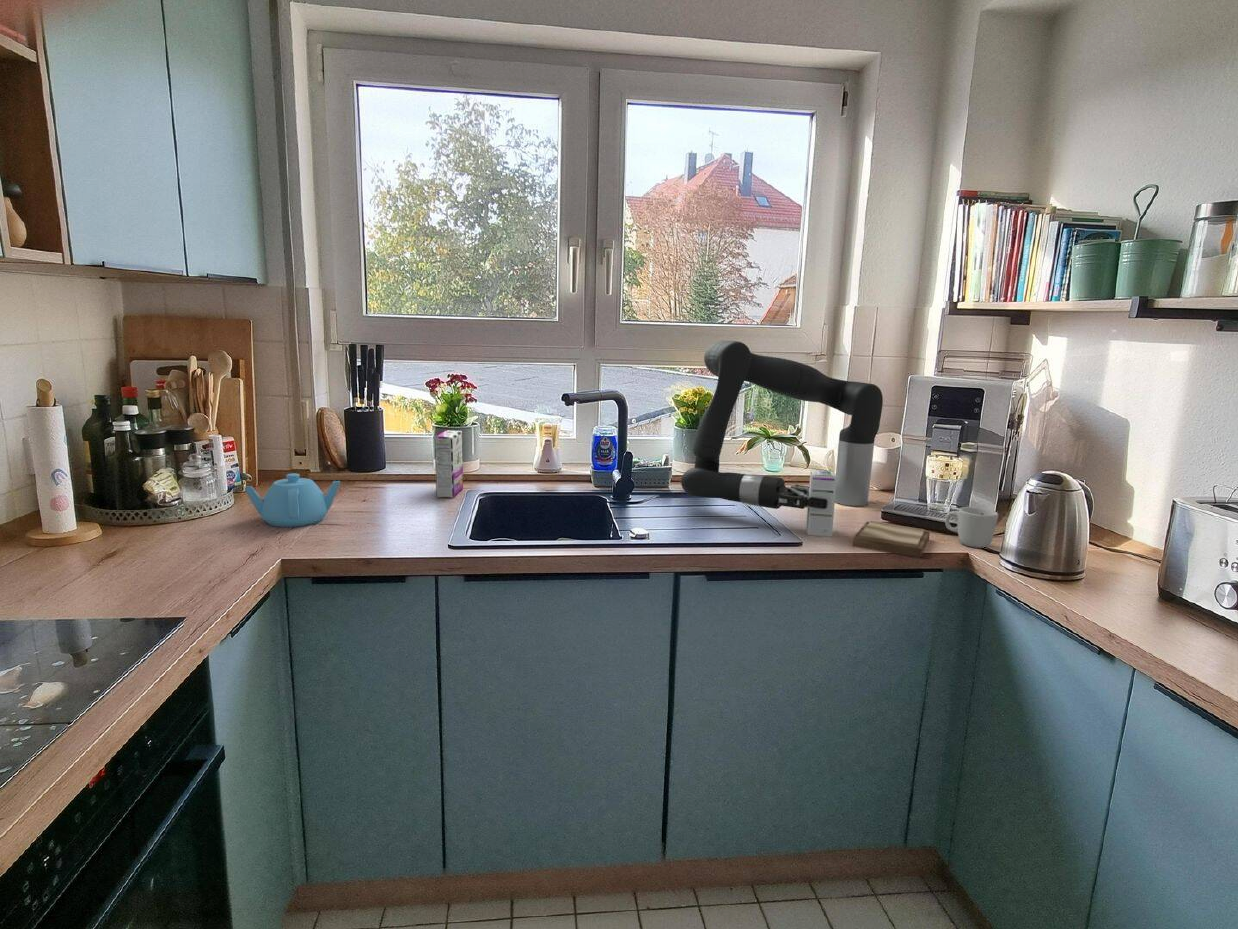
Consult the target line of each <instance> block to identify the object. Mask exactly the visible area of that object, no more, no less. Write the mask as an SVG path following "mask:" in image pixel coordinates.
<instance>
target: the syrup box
mask: <svg viewBox="0 0 1238 929" xmlns="http://www.w3.org/2000/svg"><path fill="white" fill-rule="evenodd" d="M836 478H837V477H836V471H831V470H825V469H821V470H820V469H815V470H814V469H812V470H810V474H809V486H808V487H809V496H810V499H811V497H815V498H822V499H827V500H828V503H827V508H826V509H821V508H814V507H810V506H809V508H807V512H806V513H807V514H806V524H805V525H806V526H805V529H806V534H807V535H809V536H814V537H815V536H816V537H828V538H829V537H830V538H832V536H833V529H834V527H833V526H834V518H835V515H834V514H835V505H836V504H835V503H836V502H835V491H836Z"/></svg>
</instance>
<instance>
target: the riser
mask: <svg viewBox="0 0 1238 929" xmlns="http://www.w3.org/2000/svg"><path fill="white" fill-rule="evenodd" d="M930 532H931V531H929V530H926V529H924V528H918V527H911V526H904V525H900V524H899V525H898V524H892V523H886V522H878V521H872V520H870V521H866V522H865V523H864V524H863V525H862V527H861V528H860V529H859V530H858V532H857V533H856V534H855V535H854V536H853V538H852V547H856V548H862V549H866V550H867V549H868V550H872V551H878V552H885V553H889V554H890V553H891V554H896V555H902V556H906V557H907V556H908V557H914V558H919V559H921V557H922V555H923V553H924V551H925V549H924V548H926V547H927V545H928V542H929V539H930V534H931V533H930ZM926 544H927V545H926ZM925 546H926V547H925Z"/></svg>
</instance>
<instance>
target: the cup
mask: <svg viewBox="0 0 1238 929" xmlns="http://www.w3.org/2000/svg"><path fill="white" fill-rule="evenodd" d="M952 516H953V517H956V520H957V524H956V526H952V525H951V522H950V520H951V519H950V518H951V517H952ZM998 519H999V513H998V512H997V511H995V510H991V509H989V508H984V507H977V506H963V507H960V508H959V510H952V511H950V512H947V513H946V516H945V518H944V521H945V522H944V523H945V527H946V528H947V529H948V530H949V531H951V532H952V533H953V532H954V533H957V534H958V540H959V542H960V543H961V544H962V545H964V546H966V547H970V548H978V549H985V548H984V547H986V548H988V547H989V546H991V545H992V542H993V539H994V533H995V531H996V526H997V523H998Z"/></svg>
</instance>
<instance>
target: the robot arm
mask: <svg viewBox="0 0 1238 929" xmlns="http://www.w3.org/2000/svg"><path fill="white" fill-rule="evenodd" d="M703 360H704V361H703V362H704V365H705V366H706V369H707V370H708V372H710V373H711V374H712V375H714V376H715V377H717V378H718V379H717V383H716V384H717V385H716V388H715V391H714V394H713V396H712V399H711V401H710V403H709V405H708V406H707V408H706V409H705V411H704V412H703V415H702V417H701V420H700V421H699V424H698V425H697V426H698V427H697V431H696V435H695V438H694V442H693V446H692V452H693V453H692V454H693V455H694V456H695V460H694V462H695V463H694V467H692V468H690V469H687V470H686V471H685V472H683V474H682V476H681V478H680V484H681V488H682V490H683V491H684V492H685V493H686V494H688V495H690V496H693V497H700V498H711V499H721V500H727V501H729V502H735V503H742V504H746V505H749V506H755V507H763V508H768V509H774V510H778V509H780V508H781V507H787V508H795V509H801V510H804V509H805V508H806V509H808V508H809V506H810V507H814V508H821V509H826V508H827V503H828V500H827V499H822V498H815V497H811V499H810V496H809V486H806V485H800V484H794V485H791V486H790V487H786V485H785V483H786V482H785V480H784V478H782V477H776V476H769V475H762V474H754V473H753V474H747V473H739V472H728V471H726V472H720V471H719V470H720V455H721V452H722V449H723V446H724V445H723V444H724V441H725V436H726V432H727V428H728V425H729V421H730V419H731V415H732V413H733V410H734V408H735V405H736V402H737V400H738V397H739V394H740V392H741V390H742V387H743V385H744V383H745V382H747V383H751V384H753V385H755V386H758V387H761V388H763V389H765V390H767V391H771V392H773V393H776V394H778V395H781V396H785V397H788V398H791V399H795V400H799V401H804V402H809V403H810V402H811V403H819V404H823V405H825V406H827V407H830V408H833V409H835V410H838V411H839V412H841V413H843V414H846V415H848V416H851V419H850V423H849V425H848V426H847V427H845V428H842V429H840V431H839V437H838V446H837V457H836V458H837V459H836V469H835V475H836V477H837V478H836V491H835V503H837V504H839V503H840V505H844V506H850V507H851V506H852V507H864V506H867V505H868V504H869V496H870V495H869V494H870V487H871V479H872V478H871V477H872V468H873V459H874V448H875V440H876V436H877V434H878V433H879V430H880V429H879V428H880V425H881V419H882V418H881V417H882V412H883V406H884V405H883V404H884V397H883V393H882V389H880V387H878V385H876V384H874V383H867V382H862V381H850V380H849V381H848V380H843V379H838V378H835V377H831V376H828V375H826V374H824V373H823V372H821V371H820V370H818V369H817V368H815V367H813V366H811V365H808V364H804V363H802V362H799V361H795V360H791V359H786V358H783V357H782V358H781V357H776V356H769V355H768V356H767V355H760V354H755V353H753V352H751V350H750V348H749V347H748V346H747V344H745V343H743V342H741V341H737V340H719V341H716V342H714V343H711V345H709V346H708V347H707V349H706V350H705V352H704V355H703Z"/></svg>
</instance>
